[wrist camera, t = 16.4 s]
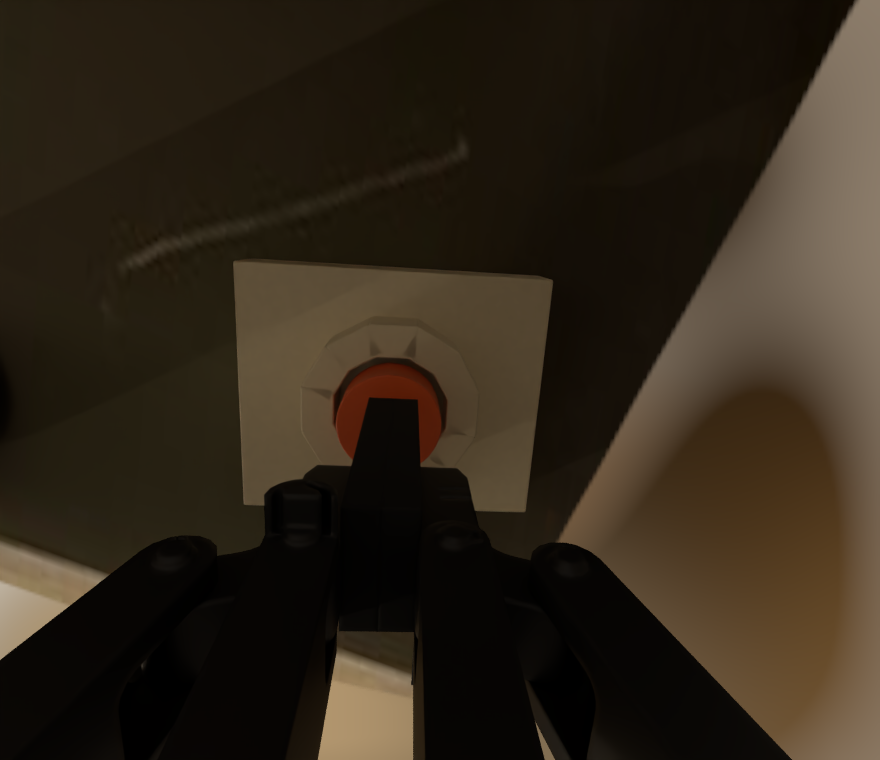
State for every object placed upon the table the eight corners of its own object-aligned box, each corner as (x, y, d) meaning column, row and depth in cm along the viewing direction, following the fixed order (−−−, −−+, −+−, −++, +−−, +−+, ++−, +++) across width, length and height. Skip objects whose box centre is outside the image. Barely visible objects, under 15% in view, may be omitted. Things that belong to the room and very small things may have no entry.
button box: (539, 275, 22) (568, 284, 18) (515, 489, 24) (535, 536, 21) (250, 258, 21) (214, 263, 17) (258, 481, 23) (228, 529, 20)
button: (441, 364, 19) (444, 377, 17) (435, 455, 20) (438, 475, 18) (342, 360, 19) (335, 372, 17) (341, 451, 19) (334, 472, 18)
